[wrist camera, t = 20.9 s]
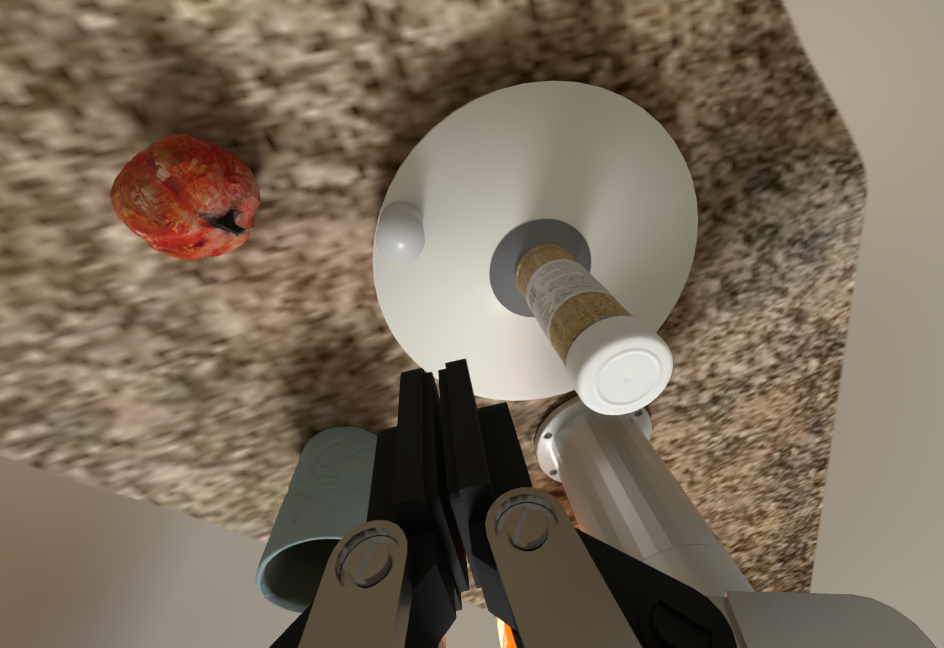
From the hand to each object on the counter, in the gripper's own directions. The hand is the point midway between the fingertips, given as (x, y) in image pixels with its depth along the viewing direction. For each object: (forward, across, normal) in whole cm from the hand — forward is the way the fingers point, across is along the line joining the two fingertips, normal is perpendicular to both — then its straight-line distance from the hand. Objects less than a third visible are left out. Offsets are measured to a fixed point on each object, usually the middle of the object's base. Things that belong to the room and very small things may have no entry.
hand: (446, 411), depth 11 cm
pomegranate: (+23, +14, -5) cm, 27 cm away
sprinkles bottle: (+20, -7, +5) cm, 21 cm away
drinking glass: (+24, +13, +22) cm, 35 cm away
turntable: (+23, -7, +5) cm, 25 cm away
